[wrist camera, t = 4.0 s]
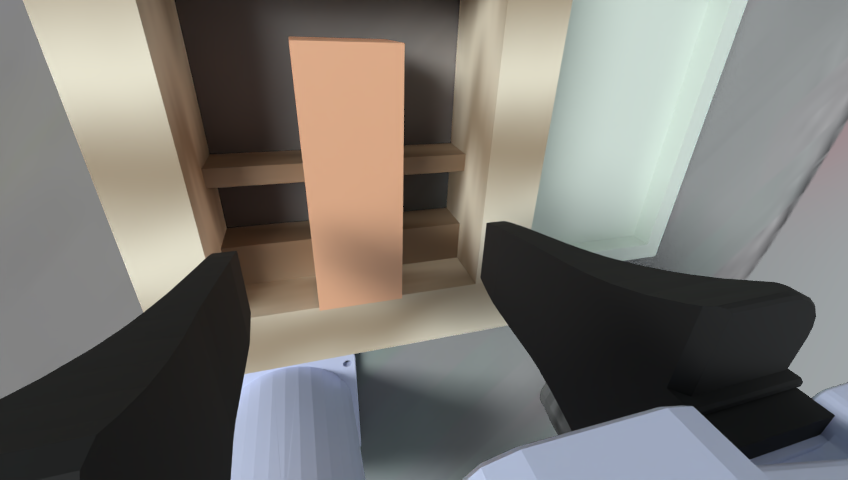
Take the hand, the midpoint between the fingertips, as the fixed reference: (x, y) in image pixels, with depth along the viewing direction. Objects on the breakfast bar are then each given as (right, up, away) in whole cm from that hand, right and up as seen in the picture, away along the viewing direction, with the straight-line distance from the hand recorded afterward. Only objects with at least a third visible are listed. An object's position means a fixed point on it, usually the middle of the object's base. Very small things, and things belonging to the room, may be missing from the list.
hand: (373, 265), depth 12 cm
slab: (-2, +4, +5) cm, 7 cm away
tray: (+11, +7, +10) cm, 17 cm away
